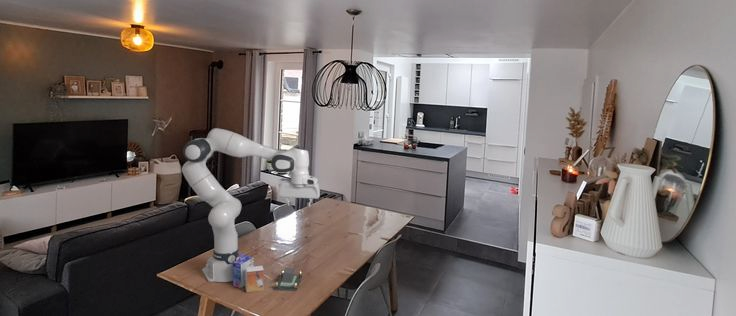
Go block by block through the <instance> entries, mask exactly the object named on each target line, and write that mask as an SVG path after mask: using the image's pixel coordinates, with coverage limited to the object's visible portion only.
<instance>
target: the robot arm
mask: <svg viewBox="0 0 736 316" xmlns="http://www.w3.org/2000/svg"><path fill="white" fill-rule="evenodd" d="M215 152H220V153H223V154H226V155H228V156H231V157H236V158H244V157H252V156H253V157H258V158H262V159H264V160H268V161H270V165H271V169H272V170H273V171H274V172H277V173H281V174H283V173H289V172H290V178H286V177H285V178H283V177H282V178H281V179H279V181H278V197H280V198H285V200H286V202H287V206H288V207H292V203H293V202H292V201H290V199H291V198H292V199H293V198H294V199H296V198H297V199H309V202H307V203H306V207H307V208H311V203H312V202H313V200H317V199H319V198H320V197H321V190H320V184H319V183H318V181H319V180H318V178H317V177H315V176H313V175H310V171H309V167H310V155H309V150H308V149H307V148H306V147H303V146H297V145H295V146H292V147H291V148H289V149H285V148H284V149H276V148H272V147H270V146H267V145H265V144H264V145H263V144H261V143H258V142H256V141H254V140H252V139H249V138H248V137H245V136H243V135H241V134H239V133H237V132H235V131H234V132H233V131H231V130H228V129H223V128H219V127H217V128H216V127H214V128H212V129H211V130H210V131H209V132H208V134H207V137H200V138H194V139H192V140H190V141H188V142H187V143H186V144H184V147H183V149H182V154H183V157H184V158H185V159H186V160H187V161H185V163H184V164H183V165H182V167H181V172H182V174H183V176H184V178H185V180H186V181H187V183H188V185H189V186H190V187H191V188H192V190H193V191H194V192H195V193H196V195H197V197H198V198H199V199H200V200H201V201H202V202H206V203H207V204H208V205H209V206H211V207H212V208H211V209H210V211H209V214H208V217H207V218H208V219H207V220H208V223H209V225H210V226H211V229H212V232H213V240H214V242H213V243H214V245H213V246H214V248H213V249H212V251H213V252H212V256H211V257H210V258H208V259H207V261H206V264H205V266H204V267H203V268H202V269H201V270H202V271H201V272H202V274H203V275H204V277H205V279H206V280H207V282H209V283H210V282H211V283H213V282H217V283H228V282H233V262H235V261H236V260H238V259H239V257H238V256H239V255H240V251H239V250H240V249H239V242H238V241H239V238H238V237H239V235H238V232H237V230H236V226H235V221H236V218H237V217H239V215H240V213H241V210H242V203H241V201H240V199H238V198H236V197H234V196H233V195H232V194H230V193H229V192H228V191H227V190H226V189H224V187H223V186H222V185H221V184H220V183H219V181H218V180H217V179H216V177H215V176H214V175H213V174H212V173H211V171H210V170H209V168H208V167H207V165H206V163H208V162H209V161H210V160H211V158H212V157H213V156H214V154H215ZM240 258H242V256H241V257H240Z"/></svg>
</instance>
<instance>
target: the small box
mask: <svg viewBox="0 0 736 316" xmlns="http://www.w3.org/2000/svg"><path fill="white" fill-rule="evenodd" d="M264 277H265V270H264V267H263V265H257V266H255V265H254V267H246V280H245V286H244V287H245V291H246V293H247V294H249V293H253V292H255V293H256V292H263V291H265V289H264V288H265V287H264V286H265V285H264V284H265V282H264V281H265V278H264Z"/></svg>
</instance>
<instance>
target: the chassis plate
mask: <svg viewBox="0 0 736 316" xmlns="http://www.w3.org/2000/svg"><path fill="white" fill-rule="evenodd" d="M284 270H285V269H281V270H280V276H279V278H278V280H277V281H275V282H274V287H273V290H274V291H286V292H287V291H289V292H297V291H298V289H299V286H300V283H301V281H302V278H303V275H302V270H299V271H298V274H294V276H297V277H296V280H295V282H294V285H293V287H292V286H280V284H281V282H282V280H283V272H284Z"/></svg>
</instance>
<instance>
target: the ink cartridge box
mask: <svg viewBox="0 0 736 316" xmlns="http://www.w3.org/2000/svg"><path fill="white" fill-rule="evenodd" d="M238 257H239V259H238V260H236V261H235V262H233V281H232V284H233V287H237V288H239V289H242V288H244V287H245V280H246V267H255V265H254V264H255V263H254V256H249V255H244V253H241V254H239V256H238ZM240 257H241V258H240Z"/></svg>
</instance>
